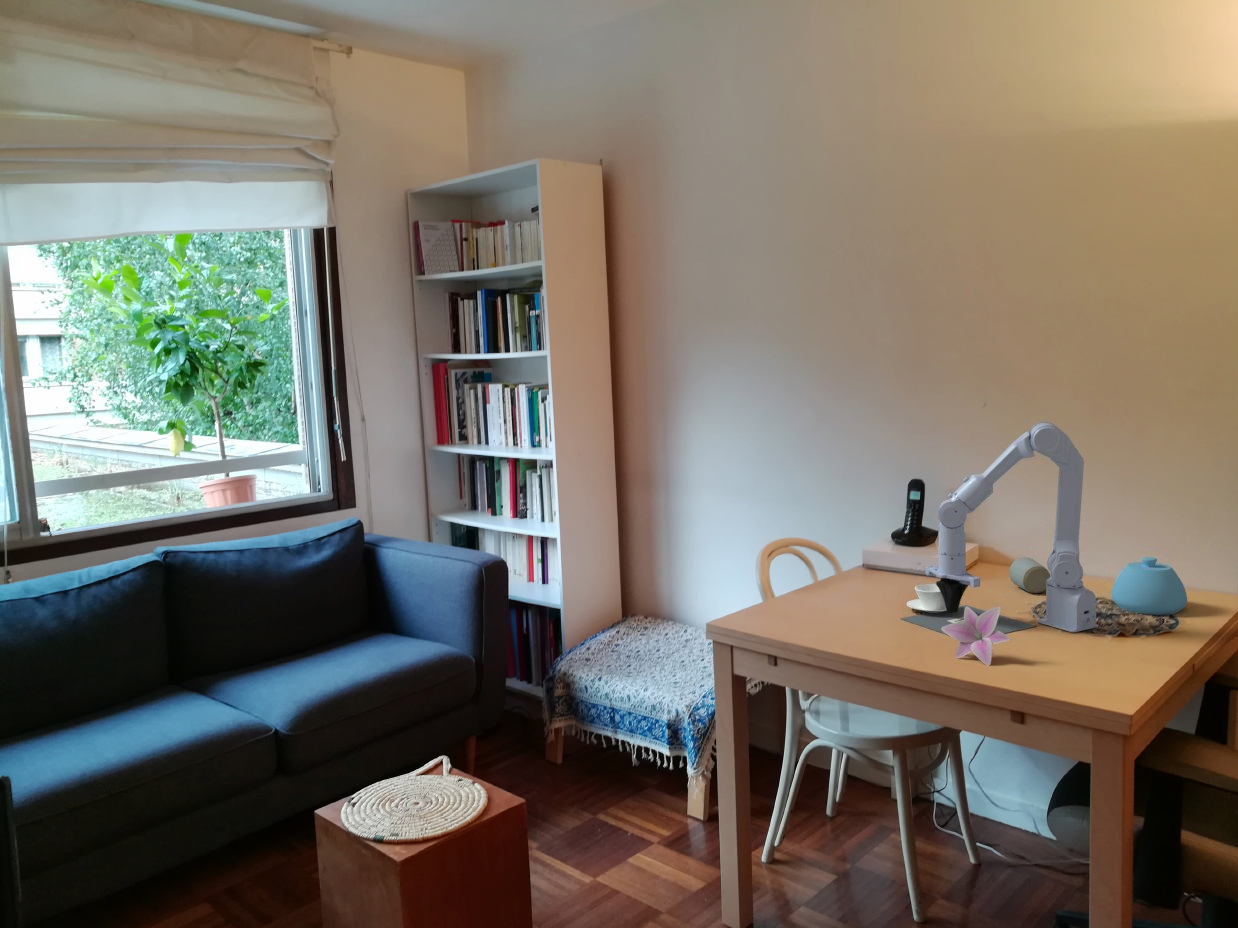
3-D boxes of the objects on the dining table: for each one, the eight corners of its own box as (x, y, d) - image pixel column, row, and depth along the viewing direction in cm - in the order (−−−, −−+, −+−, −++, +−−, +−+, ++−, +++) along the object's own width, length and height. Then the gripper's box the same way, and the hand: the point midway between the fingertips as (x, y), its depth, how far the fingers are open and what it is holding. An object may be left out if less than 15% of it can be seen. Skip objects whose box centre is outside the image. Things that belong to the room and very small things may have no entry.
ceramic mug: (1023, 595, 224) (1024, 564, 223) (1008, 587, 232) (1008, 557, 231) (1066, 593, 224) (1067, 563, 223) (1049, 585, 232) (1050, 555, 231)
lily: (936, 653, 187) (931, 620, 182) (980, 624, 190) (976, 591, 185) (980, 687, 178) (976, 653, 172) (1026, 657, 180) (1023, 622, 175)
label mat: (1036, 626, 199) (1036, 625, 199) (967, 641, 190) (967, 640, 190) (966, 605, 217) (966, 604, 217) (900, 618, 208) (900, 617, 208)
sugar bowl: (1182, 620, 199) (1184, 568, 197) (1105, 611, 208) (1106, 561, 207) (1190, 604, 211) (1191, 554, 209) (1117, 596, 220) (1118, 548, 218)
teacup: (963, 617, 206) (962, 593, 206) (907, 616, 210) (906, 593, 209) (959, 604, 218) (958, 582, 217) (906, 603, 221) (905, 581, 221)
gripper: (915, 549, 211) (915, 607, 212) (963, 561, 198) (963, 622, 199) (938, 545, 214) (938, 602, 215) (987, 556, 201) (987, 617, 202)
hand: (952, 611), depth 207 cm, fingers closed
